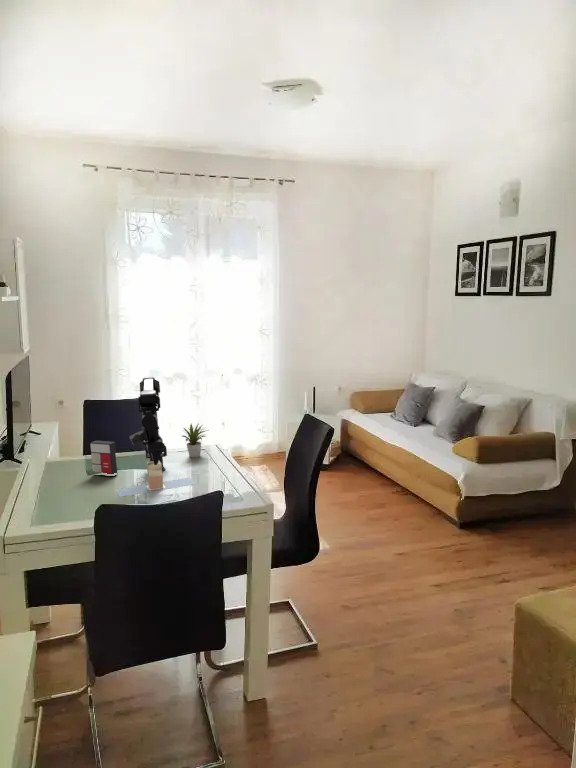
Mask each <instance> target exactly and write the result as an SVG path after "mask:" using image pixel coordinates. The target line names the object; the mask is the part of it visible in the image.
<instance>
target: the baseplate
mask: <svg viewBox="0 0 576 768" xmlns="http://www.w3.org/2000/svg"><path fill="white" fill-rule="evenodd" d="M193 485H196V483H195V482H194V480H192V478H191V477H183V478H179V479H171V480H166V481H163V488H157V489H150V488H149V485H148V484H141V485H136V486H129V487H124V488H118V489H117V488H116V493H117V495H118V498H122V497H129V496H133V495H139V494H140V495H141V494H146V493H153V492H158V491H164V490H169V489H170V490H171V489H175V488H182V487H187V486H193Z"/></svg>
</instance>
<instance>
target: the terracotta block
mask: <svg viewBox="0 0 576 768" xmlns="http://www.w3.org/2000/svg"><path fill="white" fill-rule="evenodd" d="M163 482H164V480H163V475H162V476H156V477H149V475H148V474H147V483H148V485H149V488H150V489H157V488H163Z"/></svg>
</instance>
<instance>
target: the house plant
mask: <svg viewBox="0 0 576 768" xmlns="http://www.w3.org/2000/svg"><path fill="white" fill-rule="evenodd" d="M203 425H204V424H202V425H200V426H199V423H197V425H196V426H195V428H194V427H193V424H192V423H190V425H189V427H183V431H184V432H185V433H186V434H187V436H186V435H181V437H182V438H185V442H186V448H187V452H188V455H189V458H192V457H193V458H194V457H195V458H199V457H200V456H201V451H202V442H200V440H201V441H203V438H205V437H206V438H208V437H207V434H203V433H205V432H207V431H210V430H209V429H208V430H206V428H207V426H206V427H203ZM186 428H187V429H186ZM204 429H205V430H204ZM202 434H203V435H202Z"/></svg>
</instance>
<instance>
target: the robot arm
mask: <svg viewBox="0 0 576 768" xmlns="http://www.w3.org/2000/svg"><path fill="white" fill-rule="evenodd" d="M139 392H140V393H139V396H138V397H137V398H138V399H137V400H138V412H139V413H142V417H141V426H142V427H141V430H139V431H137V432H135V433H133V434H131V435H129V440H130V443H132V445H133V446H137V445H138V444H139V443H142V445H144V448H145V457H146V458H145V459H146V460H147V459H149V462H151V461H153V462H154V465H157V464H158V461H160V462H161V465H162V472H164V471H166V468H165V466H164V458H166V457H167V456H168V452H167V446H166V445H165V442H163V441H164V440H163V438H162V436H161V435H160V431H159V430H160V425H159V423H158V422H159V420H158V412H159V411H160V409H161V398H160V393H161V385H160V381H159V380H158V379H156V377H154V376H149V377H147V376H146V377H145V376H144V377H142V380H141V381H140V382H139Z"/></svg>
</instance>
